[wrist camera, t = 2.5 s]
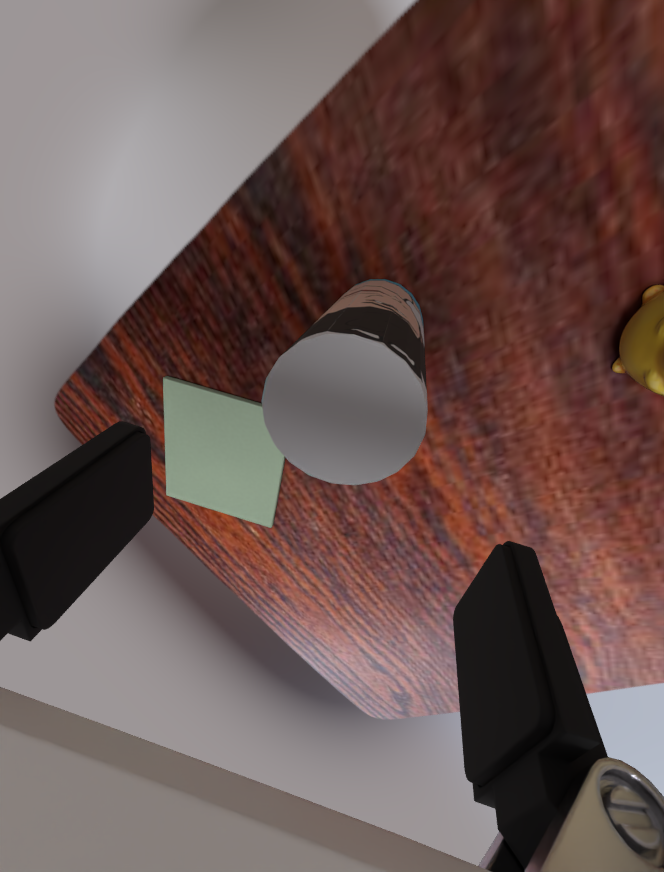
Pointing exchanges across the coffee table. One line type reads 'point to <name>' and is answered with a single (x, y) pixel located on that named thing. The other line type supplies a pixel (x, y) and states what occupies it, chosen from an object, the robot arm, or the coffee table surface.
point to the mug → (645, 343)
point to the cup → (352, 388)
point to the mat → (220, 452)
